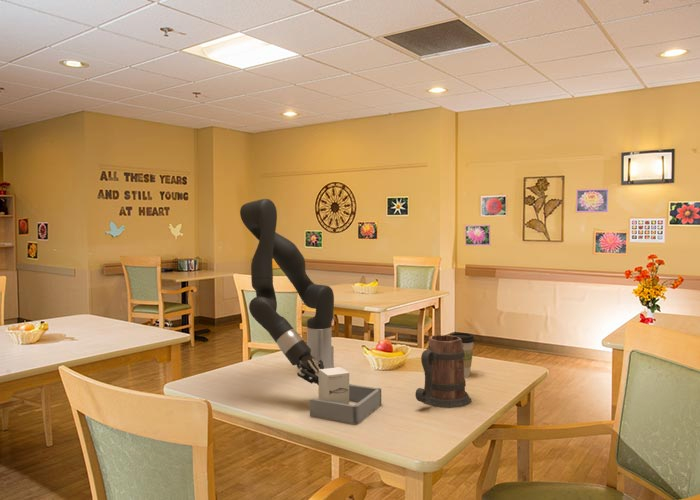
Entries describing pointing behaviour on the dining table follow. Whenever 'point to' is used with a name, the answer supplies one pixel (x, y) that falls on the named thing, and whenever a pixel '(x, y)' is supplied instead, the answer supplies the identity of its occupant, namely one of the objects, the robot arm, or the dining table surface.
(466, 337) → the coffee cup
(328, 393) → the supplement box
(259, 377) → the dining table surface
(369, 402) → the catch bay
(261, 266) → the robot arm
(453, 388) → the tankard
